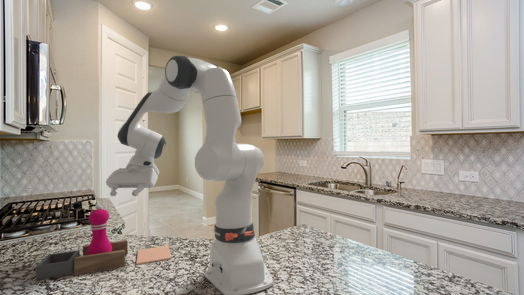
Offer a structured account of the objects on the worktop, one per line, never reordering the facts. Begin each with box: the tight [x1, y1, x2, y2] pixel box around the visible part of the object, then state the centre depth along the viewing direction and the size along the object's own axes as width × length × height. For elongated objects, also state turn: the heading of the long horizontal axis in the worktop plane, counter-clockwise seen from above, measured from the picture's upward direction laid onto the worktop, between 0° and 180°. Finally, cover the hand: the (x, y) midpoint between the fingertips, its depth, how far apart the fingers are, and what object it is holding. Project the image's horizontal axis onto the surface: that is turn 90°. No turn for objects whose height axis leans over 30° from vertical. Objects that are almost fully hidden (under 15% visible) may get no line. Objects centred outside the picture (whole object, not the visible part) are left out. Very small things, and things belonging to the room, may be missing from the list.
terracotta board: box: [135, 245, 172, 266], centre depth 101 cm, size 14×11×1 cm
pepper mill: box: [87, 204, 112, 255], centre depth 94 cm, size 7×7×20 cm
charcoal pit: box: [35, 249, 81, 281], centre depth 90 cm, size 11×9×4 cm
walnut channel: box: [74, 239, 129, 275], centre depth 95 cm, size 13×14×5 cm
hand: (123, 195), depth 106 cm, fingers open, 8 cm apart
